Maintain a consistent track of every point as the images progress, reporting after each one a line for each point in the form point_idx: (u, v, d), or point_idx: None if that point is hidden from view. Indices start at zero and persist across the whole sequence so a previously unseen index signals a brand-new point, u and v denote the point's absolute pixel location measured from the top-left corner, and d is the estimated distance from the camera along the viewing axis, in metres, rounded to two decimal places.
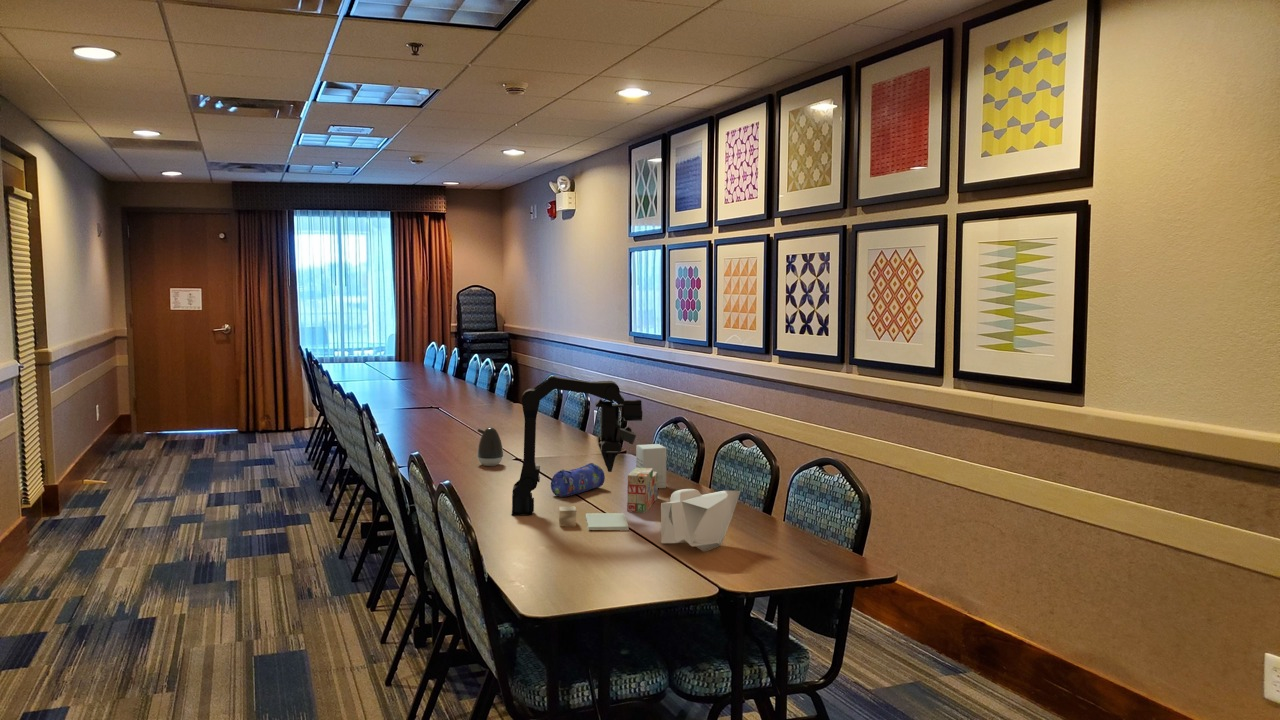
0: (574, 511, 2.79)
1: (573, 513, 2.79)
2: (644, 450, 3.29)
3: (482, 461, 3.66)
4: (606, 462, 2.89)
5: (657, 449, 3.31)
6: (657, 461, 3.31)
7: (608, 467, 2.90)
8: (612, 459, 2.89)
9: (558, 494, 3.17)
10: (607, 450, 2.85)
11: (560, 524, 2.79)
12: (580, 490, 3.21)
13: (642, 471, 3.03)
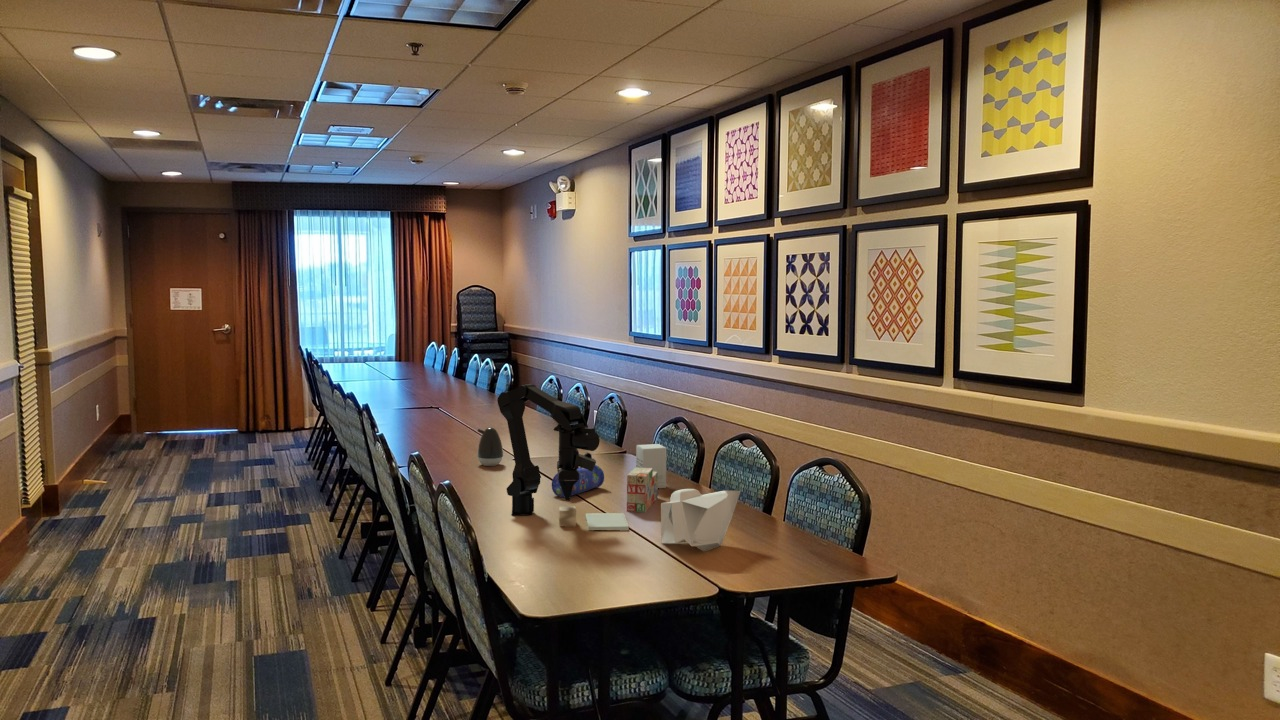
0: (574, 511, 2.79)
1: (573, 513, 2.79)
2: (644, 450, 3.29)
3: (482, 461, 3.66)
4: (564, 491, 2.75)
5: (657, 449, 3.31)
6: (657, 461, 3.31)
7: (566, 496, 2.76)
8: (570, 488, 2.75)
9: (559, 494, 3.16)
10: (564, 479, 2.71)
11: (560, 524, 2.79)
12: (581, 490, 3.21)
13: (642, 471, 3.03)
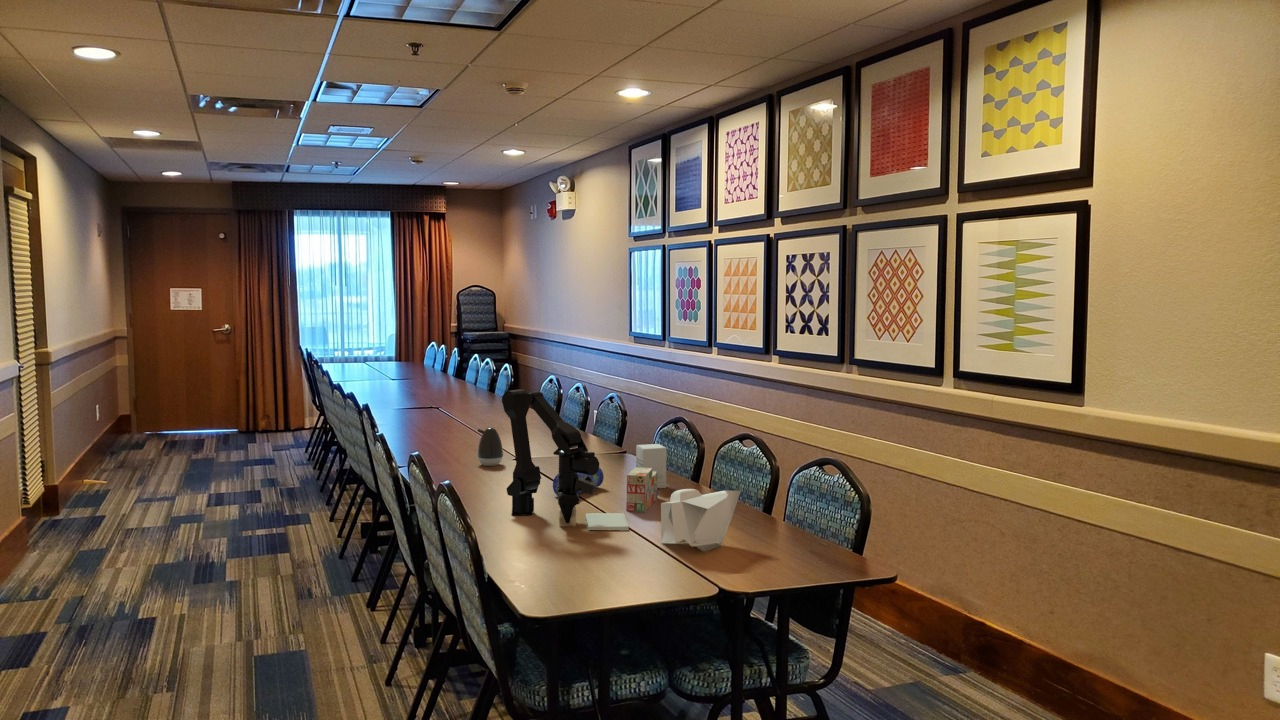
0: (574, 511, 2.79)
1: (573, 513, 2.79)
2: (644, 450, 3.29)
3: (482, 461, 3.66)
4: (563, 513, 2.77)
5: (657, 449, 3.31)
6: (657, 461, 3.31)
7: (566, 518, 2.78)
8: (570, 510, 2.77)
9: None
10: (564, 503, 2.72)
11: (560, 524, 2.79)
12: None
13: (641, 471, 3.04)
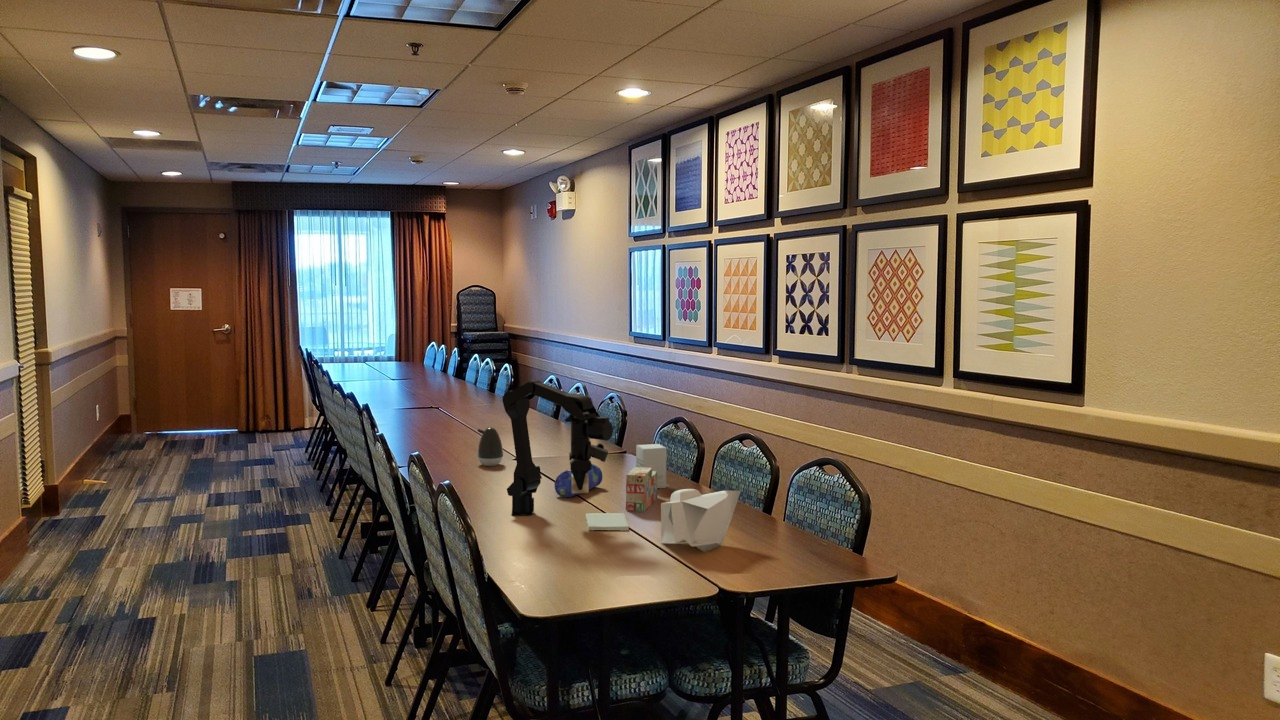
0: (586, 477, 2.78)
1: (585, 479, 2.78)
2: (644, 450, 3.29)
3: (482, 461, 3.66)
4: (576, 480, 2.77)
5: (657, 449, 3.31)
6: (657, 461, 3.31)
7: (578, 485, 2.77)
8: (582, 476, 2.77)
9: (563, 495, 3.16)
10: (576, 469, 2.71)
11: (572, 490, 2.78)
12: None
13: (641, 470, 3.04)
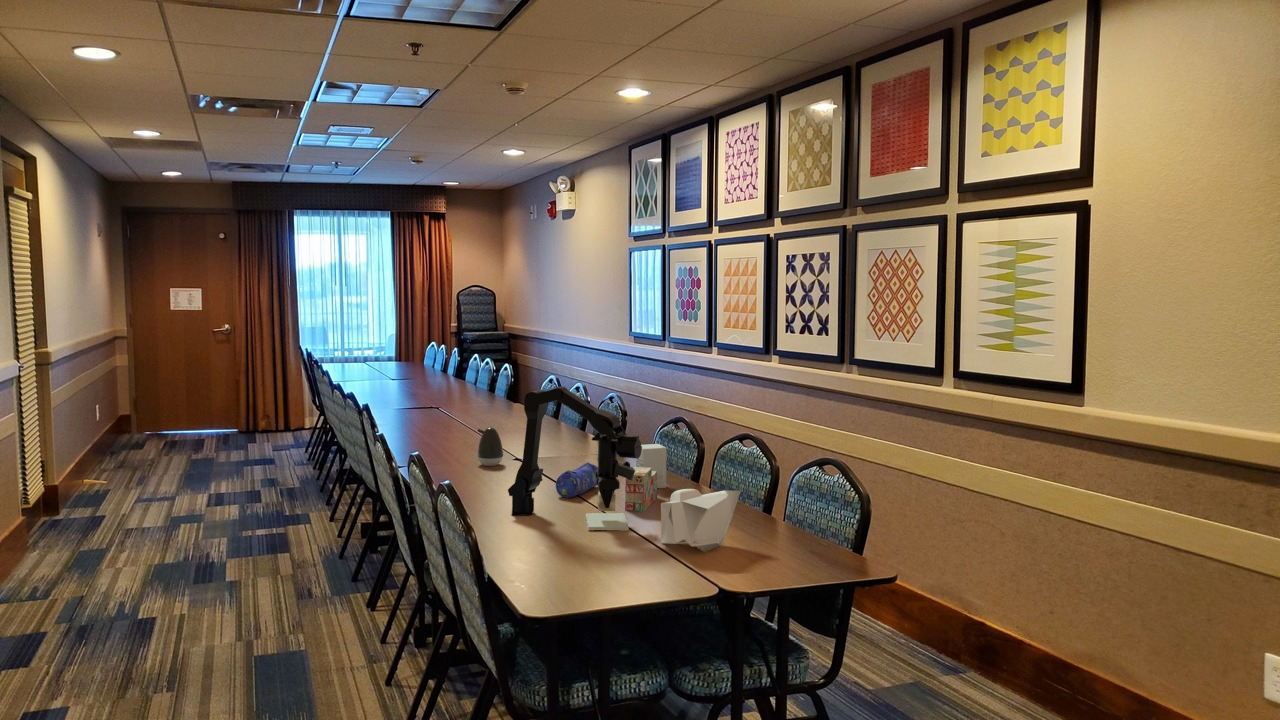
0: (613, 495, 2.80)
1: (612, 497, 2.80)
2: (644, 450, 3.29)
3: (482, 461, 3.66)
4: (603, 498, 2.78)
5: (657, 449, 3.31)
6: (657, 461, 3.31)
7: (605, 503, 2.79)
8: (609, 495, 2.78)
9: (565, 495, 3.15)
10: (604, 487, 2.73)
11: (599, 508, 2.80)
12: (583, 490, 3.22)
13: (640, 470, 3.04)
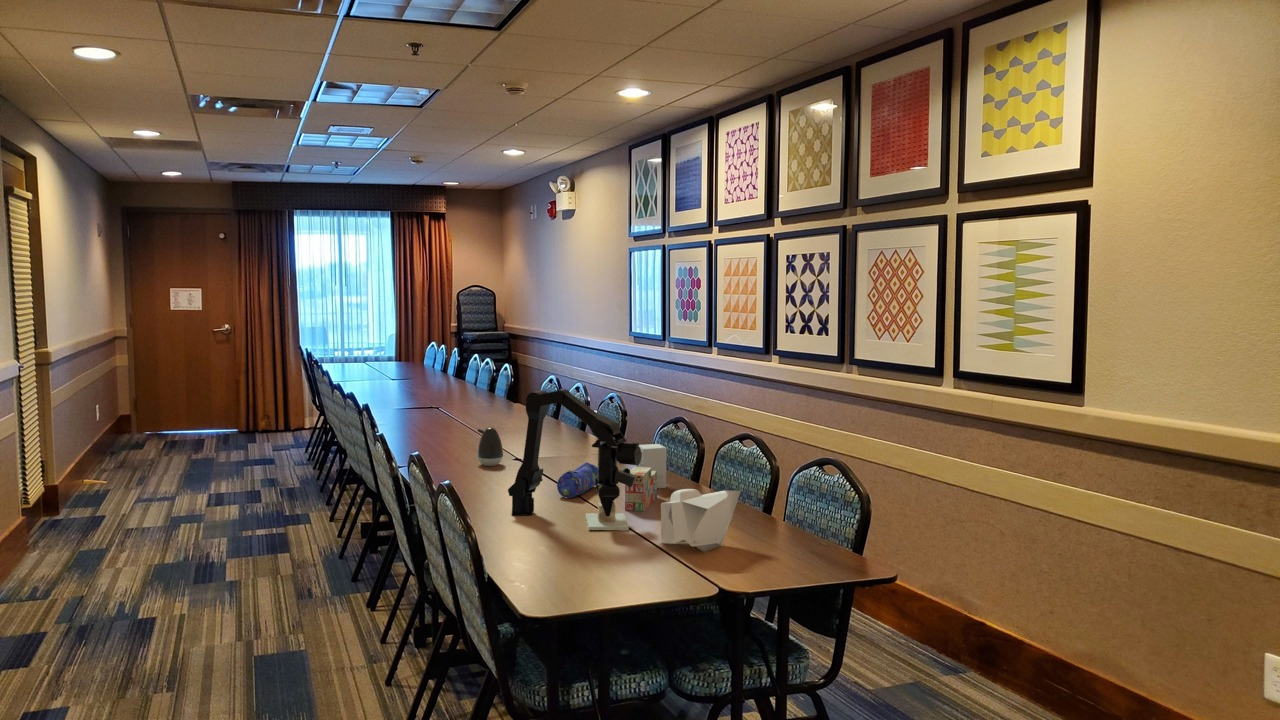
0: (613, 506, 2.80)
1: (612, 508, 2.80)
2: (644, 450, 3.29)
3: (482, 461, 3.66)
4: (604, 506, 2.77)
5: (657, 449, 3.31)
6: (657, 461, 3.31)
7: (606, 511, 2.77)
8: (610, 503, 2.77)
9: (566, 495, 3.15)
10: (604, 494, 2.73)
11: (599, 519, 2.80)
12: (584, 490, 3.22)
13: (640, 470, 3.05)
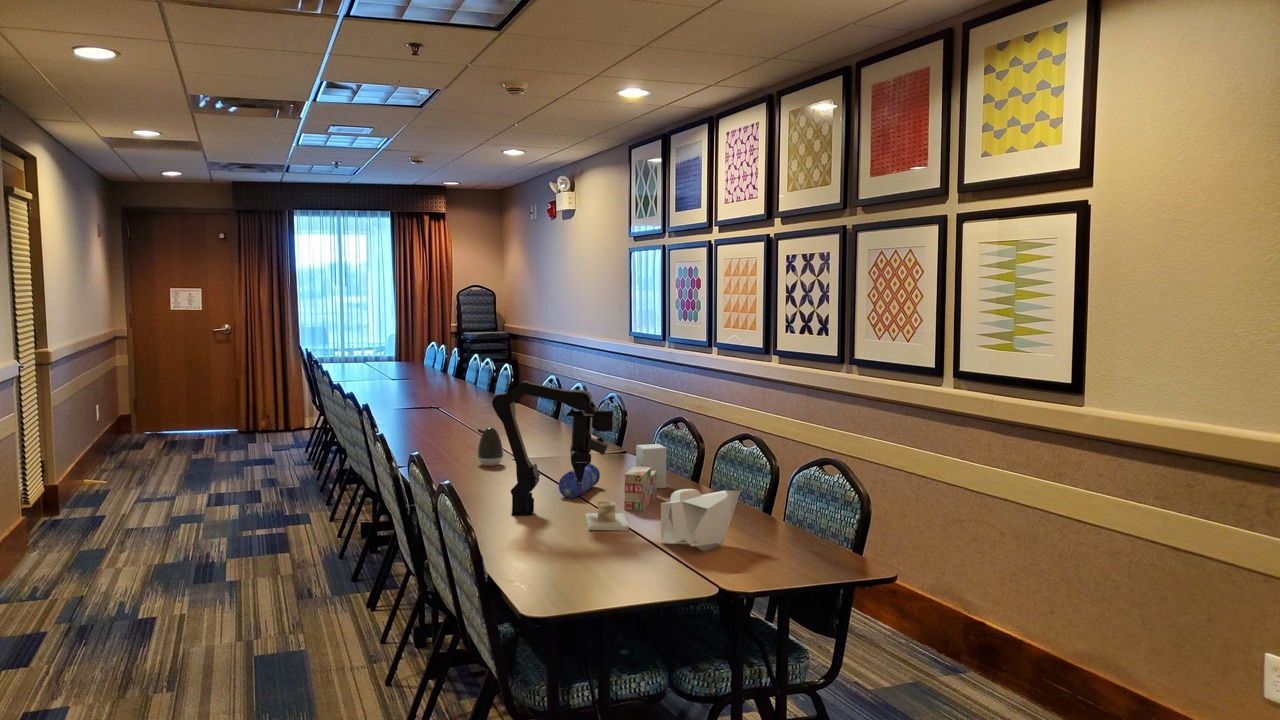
0: (613, 506, 2.80)
1: (612, 508, 2.80)
2: (644, 450, 3.29)
3: (482, 461, 3.66)
4: (576, 472, 2.86)
5: (657, 449, 3.31)
6: (657, 461, 3.31)
7: (578, 477, 2.86)
8: (582, 470, 2.86)
9: (568, 495, 3.15)
10: (576, 460, 2.82)
11: (599, 519, 2.80)
12: (585, 490, 3.22)
13: (640, 470, 3.05)
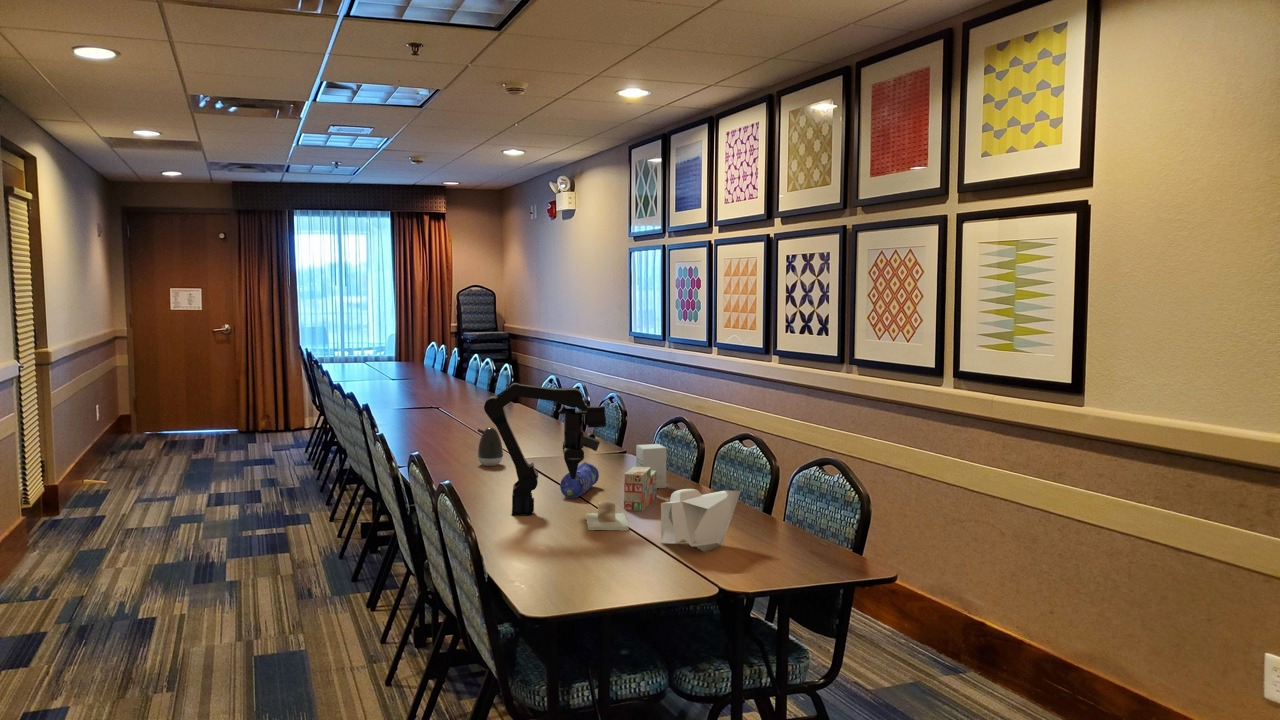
0: (613, 506, 2.80)
1: (612, 508, 2.80)
2: (644, 450, 3.29)
3: (482, 461, 3.66)
4: (569, 469, 2.89)
5: (657, 449, 3.31)
6: (657, 461, 3.31)
7: (571, 474, 2.89)
8: (575, 466, 2.89)
9: (570, 495, 3.15)
10: (569, 457, 2.85)
11: (599, 519, 2.80)
12: (586, 490, 3.22)
13: (639, 470, 3.05)
